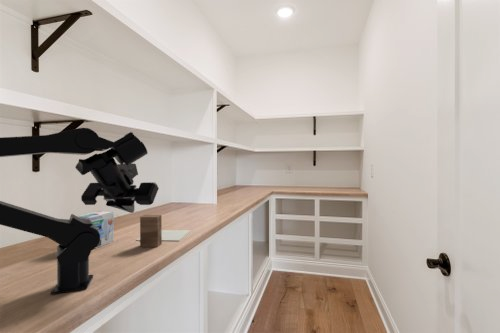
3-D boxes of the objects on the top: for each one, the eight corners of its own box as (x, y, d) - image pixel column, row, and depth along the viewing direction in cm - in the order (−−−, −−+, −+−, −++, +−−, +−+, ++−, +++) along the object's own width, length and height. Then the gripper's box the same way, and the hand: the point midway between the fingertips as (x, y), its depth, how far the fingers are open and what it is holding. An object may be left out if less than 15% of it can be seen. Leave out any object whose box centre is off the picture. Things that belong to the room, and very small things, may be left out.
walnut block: (157, 246, 81) (157, 216, 81) (140, 246, 82) (140, 216, 82) (161, 244, 84) (161, 215, 84) (144, 244, 85) (144, 215, 85)
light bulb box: (89, 251, 78) (89, 217, 78) (72, 249, 79) (71, 216, 79) (114, 241, 88) (114, 211, 88) (98, 240, 90) (98, 210, 90)
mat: (179, 241, 88) (179, 240, 88) (135, 240, 88) (135, 239, 88) (191, 231, 102) (191, 230, 102) (153, 230, 102) (153, 230, 102)
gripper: (155, 152, 66) (171, 189, 77) (88, 153, 67) (113, 190, 78) (140, 183, 58) (160, 220, 69) (65, 184, 59) (96, 220, 70)
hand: (132, 211), depth 71 cm, fingers closed
